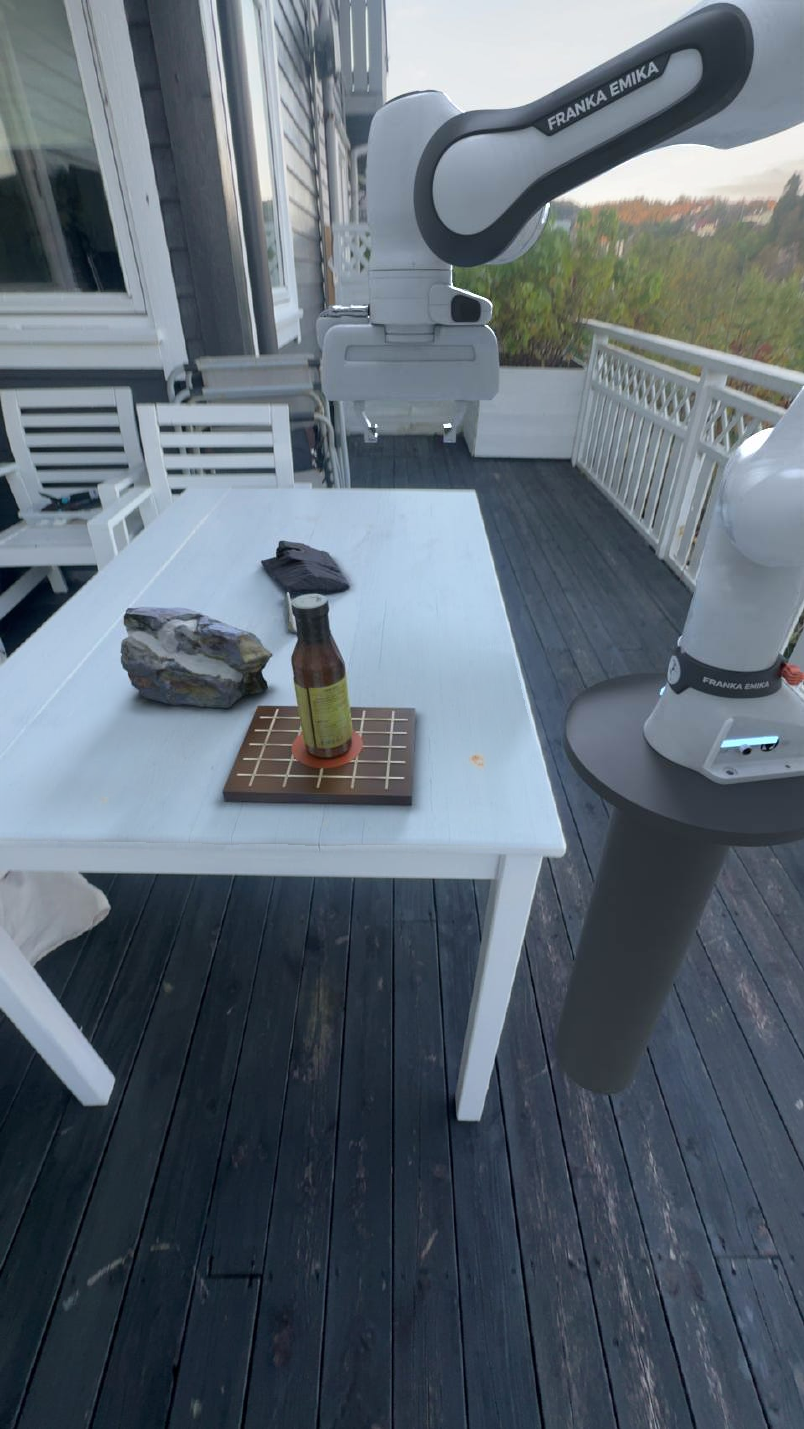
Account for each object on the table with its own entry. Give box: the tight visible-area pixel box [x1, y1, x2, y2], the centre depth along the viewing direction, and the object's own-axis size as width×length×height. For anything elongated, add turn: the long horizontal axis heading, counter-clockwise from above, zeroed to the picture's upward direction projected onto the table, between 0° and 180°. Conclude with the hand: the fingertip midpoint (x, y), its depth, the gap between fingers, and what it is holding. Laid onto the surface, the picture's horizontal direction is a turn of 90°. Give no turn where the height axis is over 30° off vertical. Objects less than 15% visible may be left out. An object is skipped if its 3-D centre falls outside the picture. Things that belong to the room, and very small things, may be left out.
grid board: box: [222, 704, 416, 806], centre depth 80 cm, size 22×18×2 cm
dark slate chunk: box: [260, 540, 351, 594], centre depth 128 cm, size 15×22×5 cm
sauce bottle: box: [290, 593, 353, 758], centre depth 74 cm, size 6×6×20 cm
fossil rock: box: [120, 606, 273, 709], centre depth 89 cm, size 20×9×15 cm, turn 76°
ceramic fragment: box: [282, 591, 297, 634], centre depth 113 cm, size 14×5×4 cm, turn 11°
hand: (410, 441), depth 75 cm, fingers open, 8 cm apart
